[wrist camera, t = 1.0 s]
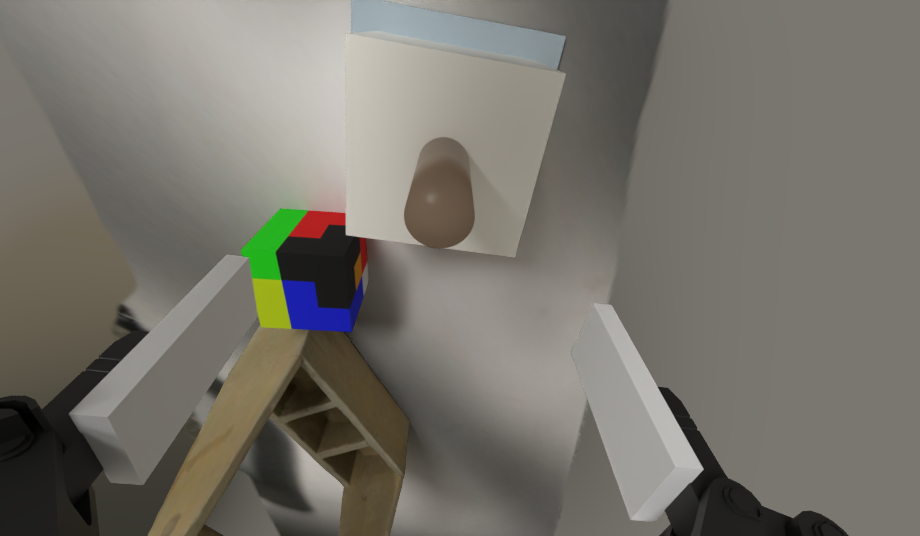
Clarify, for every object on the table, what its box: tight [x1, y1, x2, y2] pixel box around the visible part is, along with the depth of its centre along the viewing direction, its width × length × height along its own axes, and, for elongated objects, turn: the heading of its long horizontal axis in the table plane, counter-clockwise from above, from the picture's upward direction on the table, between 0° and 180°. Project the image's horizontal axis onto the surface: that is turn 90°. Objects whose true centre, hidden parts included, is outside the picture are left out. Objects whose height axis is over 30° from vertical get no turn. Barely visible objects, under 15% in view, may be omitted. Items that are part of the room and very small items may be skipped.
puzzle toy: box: [241, 209, 369, 332], centre depth 44 cm, size 10×10×10 cm
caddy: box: [148, 325, 409, 536], centre depth 49 cm, size 29×11×30 cm, turn 21°
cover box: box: [345, 31, 566, 258], centre depth 31 cm, size 15×15×22 cm
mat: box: [351, 0, 566, 69], centre depth 40 cm, size 20×20×1 cm
